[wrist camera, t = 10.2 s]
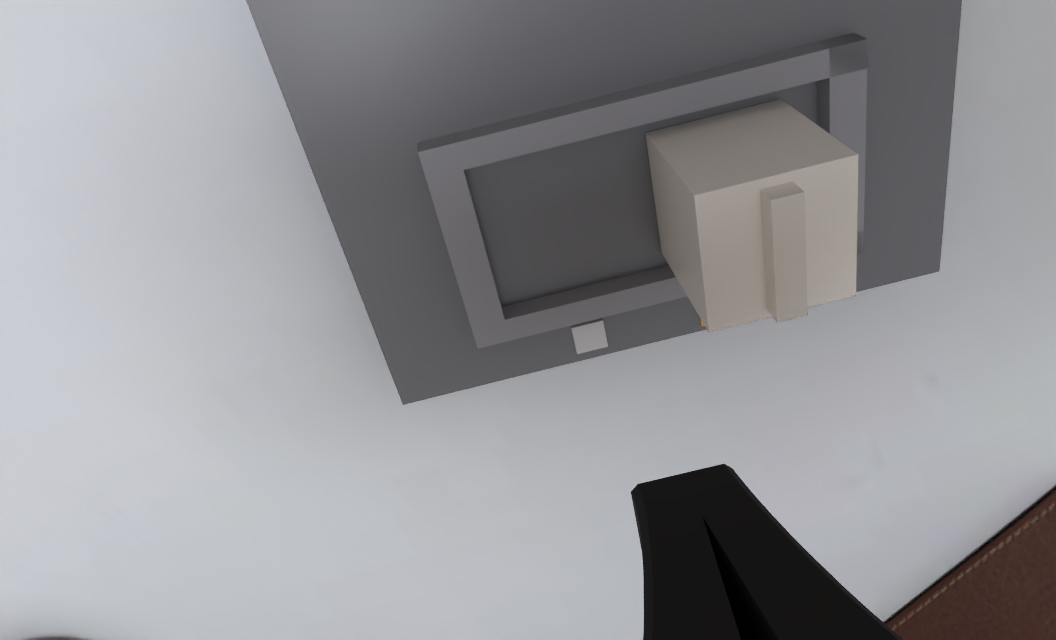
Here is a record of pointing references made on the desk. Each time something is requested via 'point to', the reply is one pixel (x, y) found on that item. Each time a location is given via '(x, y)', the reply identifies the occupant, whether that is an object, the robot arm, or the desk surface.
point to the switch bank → (583, 154)
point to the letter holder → (994, 588)
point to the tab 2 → (756, 213)
